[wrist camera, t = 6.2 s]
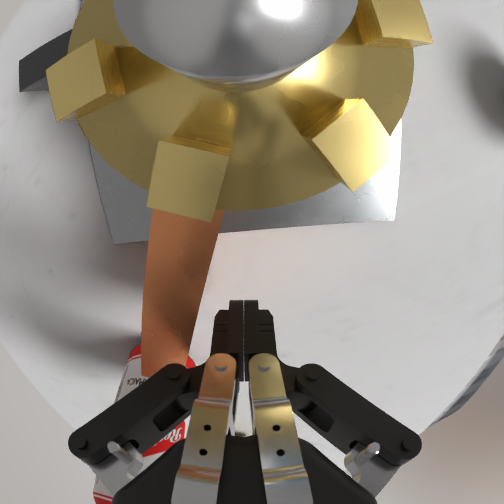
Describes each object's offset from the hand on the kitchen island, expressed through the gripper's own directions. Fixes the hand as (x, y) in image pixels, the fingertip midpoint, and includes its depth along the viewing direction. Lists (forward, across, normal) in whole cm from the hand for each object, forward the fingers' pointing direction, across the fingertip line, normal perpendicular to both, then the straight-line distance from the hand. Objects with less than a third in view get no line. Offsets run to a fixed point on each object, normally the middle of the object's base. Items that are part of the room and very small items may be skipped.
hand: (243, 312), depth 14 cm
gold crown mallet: (+3, +2, -7) cm, 8 cm away
